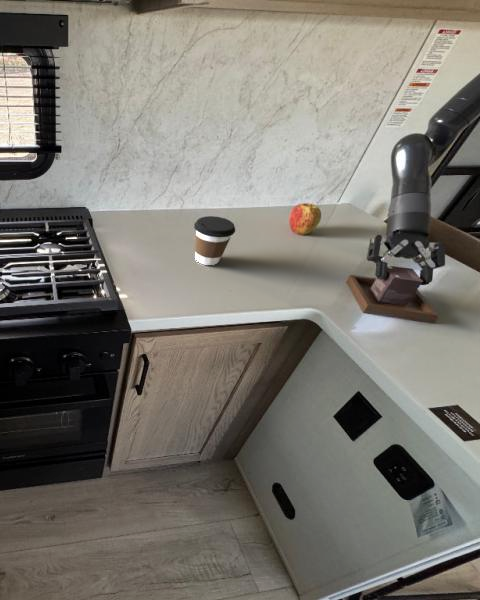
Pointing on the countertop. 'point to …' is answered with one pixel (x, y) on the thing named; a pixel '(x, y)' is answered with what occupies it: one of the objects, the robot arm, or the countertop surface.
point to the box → (396, 286)
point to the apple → (304, 218)
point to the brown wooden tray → (413, 311)
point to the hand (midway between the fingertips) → (402, 281)
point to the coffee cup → (212, 238)
